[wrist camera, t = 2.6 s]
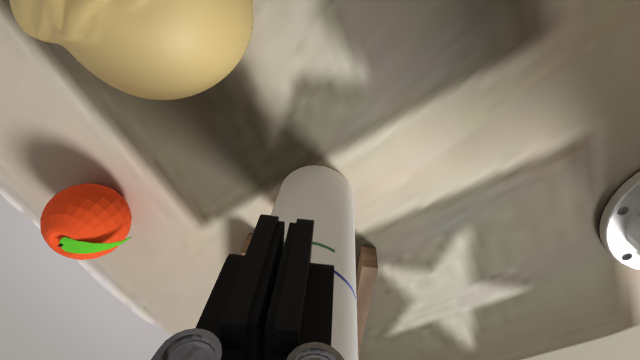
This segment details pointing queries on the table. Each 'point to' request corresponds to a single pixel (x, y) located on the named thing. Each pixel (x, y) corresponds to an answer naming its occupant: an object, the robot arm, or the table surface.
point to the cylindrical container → (327, 240)
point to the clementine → (86, 221)
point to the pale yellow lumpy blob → (145, 40)
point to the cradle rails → (357, 284)
